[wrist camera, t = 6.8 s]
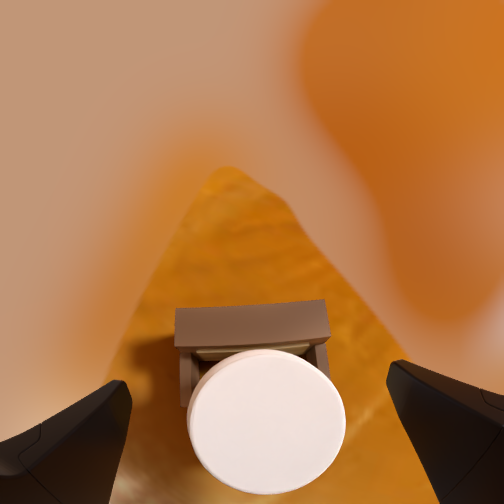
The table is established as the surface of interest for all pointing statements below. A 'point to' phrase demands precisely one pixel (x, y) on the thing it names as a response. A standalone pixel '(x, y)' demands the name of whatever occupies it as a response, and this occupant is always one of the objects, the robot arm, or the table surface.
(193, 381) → the bracket
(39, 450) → the robot arm
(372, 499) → the table surface
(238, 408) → the supplement bottle
